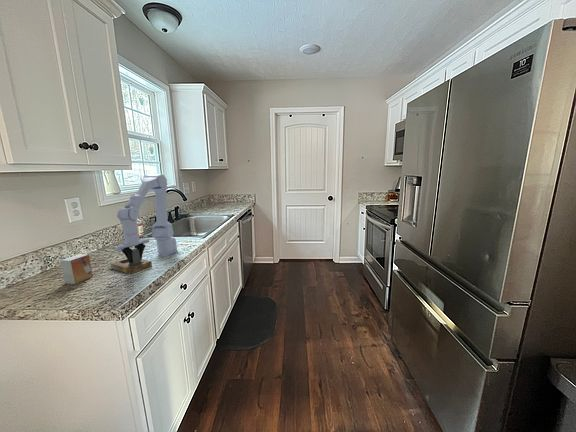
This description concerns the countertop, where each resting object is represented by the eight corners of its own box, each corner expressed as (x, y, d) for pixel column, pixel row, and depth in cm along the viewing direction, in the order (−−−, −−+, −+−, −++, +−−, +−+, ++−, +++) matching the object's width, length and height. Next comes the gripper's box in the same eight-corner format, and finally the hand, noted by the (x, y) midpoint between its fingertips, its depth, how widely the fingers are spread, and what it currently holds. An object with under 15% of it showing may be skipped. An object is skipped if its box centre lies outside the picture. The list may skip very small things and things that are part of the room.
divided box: (132, 262, 125) (131, 256, 124) (152, 267, 117) (151, 261, 117) (110, 269, 116) (109, 263, 115) (130, 275, 109) (129, 269, 108)
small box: (74, 284, 101) (69, 260, 99) (64, 283, 102) (59, 260, 100) (93, 276, 109) (89, 254, 107) (83, 275, 110) (79, 253, 108)
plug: (137, 263, 117) (134, 247, 116) (141, 264, 115) (138, 248, 114) (129, 266, 114) (126, 249, 113) (134, 267, 112) (131, 250, 111)
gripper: (141, 228, 120) (145, 255, 122) (109, 236, 107) (114, 265, 110) (150, 230, 116) (154, 257, 119) (117, 237, 104) (122, 267, 106)
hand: (135, 261), depth 114 cm, fingers closed on plug, 3 cm apart
